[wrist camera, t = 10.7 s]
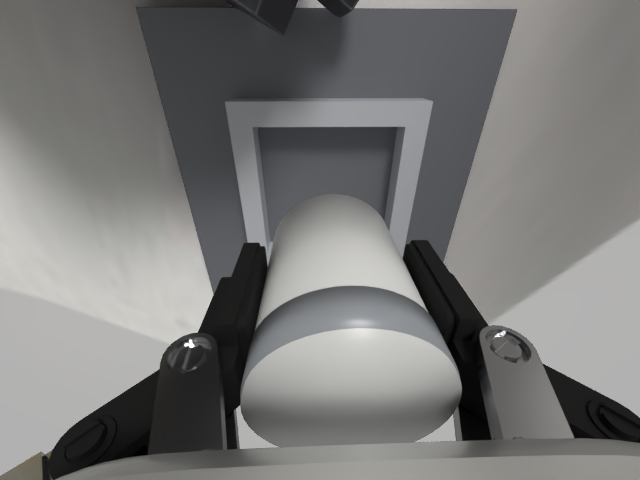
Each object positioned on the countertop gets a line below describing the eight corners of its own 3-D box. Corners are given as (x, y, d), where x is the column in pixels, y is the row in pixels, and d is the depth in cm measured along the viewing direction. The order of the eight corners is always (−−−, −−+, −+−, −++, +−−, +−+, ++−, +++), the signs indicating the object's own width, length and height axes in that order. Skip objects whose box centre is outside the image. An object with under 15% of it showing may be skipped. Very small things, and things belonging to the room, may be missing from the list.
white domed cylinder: (398, 192, 11) (497, 331, 5) (382, 290, 14) (436, 454, 8) (266, 193, 11) (218, 338, 5) (277, 292, 14) (253, 460, 8)
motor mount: (505, 12, 14) (538, 4, 12) (430, 282, 24) (441, 304, 22) (146, 10, 14) (116, 0, 12) (217, 286, 23) (208, 308, 21)
